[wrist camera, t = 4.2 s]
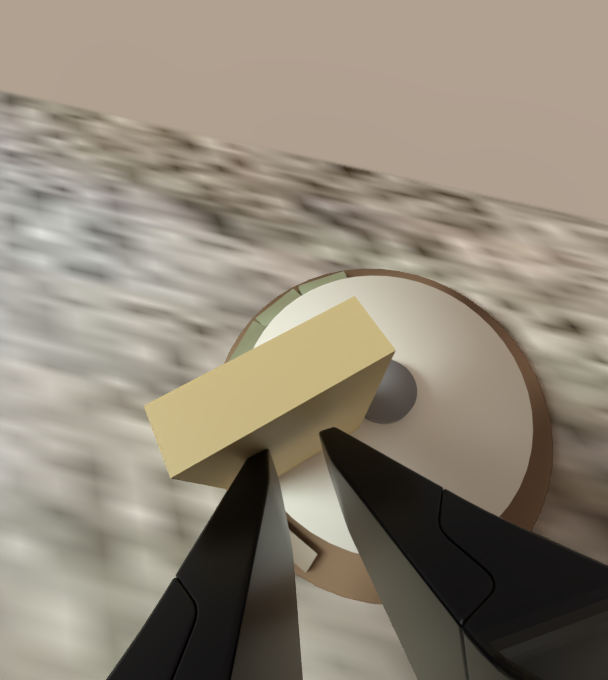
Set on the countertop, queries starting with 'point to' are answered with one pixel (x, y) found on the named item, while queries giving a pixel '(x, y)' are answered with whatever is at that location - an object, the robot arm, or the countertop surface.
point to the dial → (358, 400)
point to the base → (347, 567)
